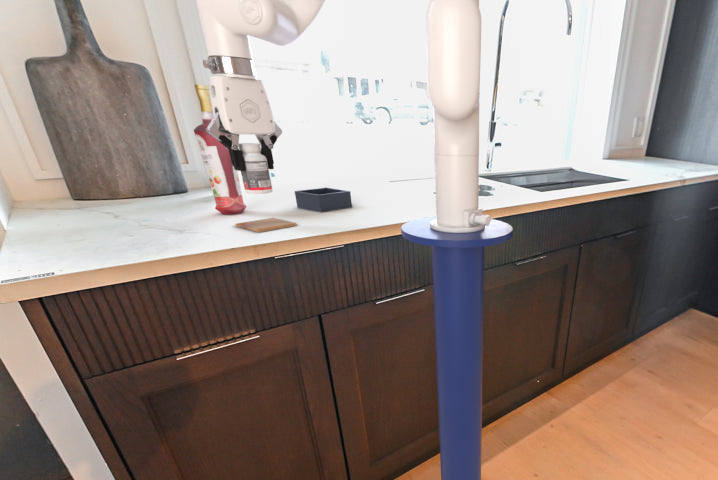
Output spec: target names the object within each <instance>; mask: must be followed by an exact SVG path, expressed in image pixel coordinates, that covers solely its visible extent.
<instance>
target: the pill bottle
mask: <svg viewBox="0 0 718 480" xmlns="http://www.w3.org/2000/svg"><path fill="white" fill-rule="evenodd" d="M238 148H239V150H241V151H242V154H243V159H244V163H245V168H246V170H245V171H240V174H241V180H242V183H243V187H244V190H245V193H246V194H250V195H263V194H271V193H273V185H272V179H271V174H270V169H268V163H267V159H266V157H265V156H264V155H262V154H261V153H260V151H261V145H260V143H257V142H256V143H253V142H239V145H238Z"/></svg>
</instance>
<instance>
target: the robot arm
mask: <svg viewBox="0 0 718 480" xmlns="http://www.w3.org/2000/svg"><path fill="white" fill-rule="evenodd" d="M325 1H326V0H195V5H196V10H197V13H198V18H199V23H200V27H201V30H202V35H203V39H204V43H205V44H204V45H205V48H206V53H207V59H203V60H202V65H203V68H204V69H209V70H210V73H211V74H212V75H211V76H209V91H210V97H211V103H212V109H213V114H214V117H213V119H212V120H211V122H210V124H209V125H208V127H207V129H206V131H207V132H208V133H209V134H210V135H212V136H213V137H214V138H216V139H217V140H218V141H219V142H220V143H221V144H223V145H224V146H225V148H226V149H229V154H230V158H231V162H232V165H233V166H234V169H235V170H237V172H241V171H245V170H246V168H245V163H244V159H243V154H242V151H241V150H239V146H238V145H239V143H240V135H255V138H256V140H257V141H258V144H260V147H261V151H260V153H261V154H262V155H264V156H265V157H266V159H267V163H268V169H269V170H274V169H275V167H274V163H275V161H274V157H273V151H272V150H273V149H274V145H275V144H276V142H277V140H278V139H279V137H281V135H282V134H283V129H282V128H281V127H280V126H279V125H278V124H277V123H276V121H275V119H274V115H273V111H272V107H271V103H270V100H269V96H268V94H267V91H266V88H265V85H264V83H263V81H262V80H261V79H258V77H257V72H256V66H255V61H254V55H253V51H252V46H251V45H252V44H251V40H250V37H253V38H257V39H259V40H262V41H265V42H268V43H270V44H274V45H276V46H282V47H285V46H288V45H291V44H293V43H294V42H296V41H297V40H298V39H299V38H300V37H301V36H302V35H303V34H304V32H305V31H306V30H307V29H308V27H310V26H311V24H312V23H313V21H314V20H315V19H316V18H317V16H318V15H319V13H320V11H321V9H322V7H323V5H324V4H325ZM425 19H426V20H425V30H426V31H425V33H426V37H425V39H426V72H427V73H426V81H427V82H426V83H427V85H426V86H427V94H428V99H429V102H430V104H431V106H432V107H433V148H434V153H433V154H434V155H433V157H434V181H435V182H434V183H435V209H436V211H435V213H436V217H437V219H434V220H432V221H431V222H430V227H431V228H432V229H433V230H436V231H440V232H448V233H470V232H476V231H480V230H483V229H484V228H485V225H486V226H488V225H489V224H490V221H491V219H492V216H491V215H488V214H483V208H482V207H479V179H480V178H479V177H480V176H479V175H480V174H479V172H480V170H479V169H480V103H481V100H480V94H481V93H480V92H481V91H480V85H481V84H480V83H481V56H482V54H481V53H482V15H481V10H480V0H430V1H429V3H428V5H427V10H426V17H425ZM219 131H220V132H223V133H226V136H224V135H223V134H221V133H220V132H219Z"/></svg>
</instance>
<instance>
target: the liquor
mask: <svg viewBox="0 0 718 480" xmlns="http://www.w3.org/2000/svg"><path fill="white" fill-rule="evenodd" d="M193 85H194V90H195V94H196V96H197V98H198V101H199V106H200V113H201V119H202V123H201V124H199V125H197V126H196V127H195V128H194V129H193V133H194V137H195V139H196V140H195V141H196V143H197V146H198V149H199V153H200V155H201V159H202V162H203V165H204V168H205V171H206V173H207V174H206V175H207V178H208V181H209V185H210V188H211V192H212V195H213V198H214V202H215V206H214V207H215V208H214V209H215V210H216V211H218V212H219V213H220V214H222V215H238V214H242V213H243V212H244V211H245V209H246V208H247V207H248V206H247V205H246V204H245V203H244V197H243V193H242V189H241V183H240V177H239V171H237V170H235V169H234V166H233V165H232V162H231V158H230V154H229V149H226V148H225V146H224V145H223V144H221V143H220V142H219V141H218V140H217V139H216V138H214V137H213V136H212V135H210V134H209V133H208V132H207V131H206V129H207V127H208V125H209V124H210V122H211V120H212V119H213V117H214V114H213V109H212V103H211V94H210V85H207V84H193ZM219 132H220V131H219ZM220 133H221V134H223V135H224V136H226V133H223V132H220Z"/></svg>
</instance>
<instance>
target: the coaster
mask: <svg viewBox="0 0 718 480" xmlns="http://www.w3.org/2000/svg"><path fill="white" fill-rule="evenodd" d="M297 225H298V224H297V222H293V221H289V220H285V219H281V218H276V217H268V218H263V219H257V220H250V221H244V222H243V221H242V222H238V223H235V224H234V226H235V227H237V228H240V229H244V230H248V231H252V232H255V233H256V232H257V233H263V232H269V231H274V230H281V229H285V228H291V227H296V226H297Z"/></svg>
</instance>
